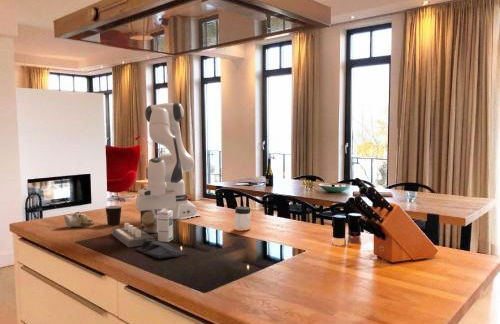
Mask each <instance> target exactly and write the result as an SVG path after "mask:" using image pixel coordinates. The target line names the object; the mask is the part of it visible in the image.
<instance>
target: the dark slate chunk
mask: <svg viewBox="0 0 500 324" xmlns="http://www.w3.org/2000/svg"><path fill="white" fill-rule="evenodd" d="M135 250H136V251H137V252H140V253H141V254H144V255H148V256H150V257H152V258H155V259H167V258H175V257H176V258H179V257H183V256H186V254H185V253H184V252H181V251H179V250H178V249H177V248H175V247H174V246H172V245H170V244H168V242H162V241H158V240H155V239H154V240H150V239H144V242H143V244H142V245H141V246H138V247H136V248H135Z"/></svg>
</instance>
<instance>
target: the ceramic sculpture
mask: <svg viewBox="0 0 500 324" xmlns="http://www.w3.org/2000/svg"><path fill="white" fill-rule="evenodd" d="M63 217H64V218H63V219H64V223H65V224H66V227H67V228H68V229H71V228H72V227H76V228H83V227H85V228H86V227H90V226H93V225H95V223H93V219H88V216H87V215H86V214H85V213H80V211H76V212H75V213H73V214H72V215H68V214H64V215H63Z"/></svg>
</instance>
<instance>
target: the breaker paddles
mask: <svg viewBox="0 0 500 324" xmlns="http://www.w3.org/2000/svg"><path fill="white" fill-rule="evenodd" d="M123 224H124V227H123V228H124V229H125V230H128V232H131V234H133V235H135V236H136V237H137V238H138V237H141V230H137V228H136V227H137V226H136V227H134V225H132V224H130V223H129V222H125V223H123Z"/></svg>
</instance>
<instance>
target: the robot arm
mask: <svg viewBox="0 0 500 324" xmlns="http://www.w3.org/2000/svg"><path fill="white" fill-rule="evenodd" d="M144 115H145V120H146V121H147V122H148V125H149V126H148V129H149V130H148V133H149V137H150V139H151V140H152V141H153V142H155V143H156V144H158V145H161V146H164V147H165V148H166V149H167V150H168V151H169V153H167V152H166V153H163V154H159V156H158V157H153V158H151V159H148V162H147V163H148V164H147V167H146V169H145V172H146V173H145V177H146V179H147V180H148V181H147V187H144V188H142V189H139V190H137V197H136V201H135V209H136V210H137V211H139V212H141V211H144V210H151V212H152V214H153V218H158V214H155V213H154V212H155V209H158V211H162V210H173V220H181V221H182V220H188V219H187V218H189V219H192V218H191V217H194V218H196V217H195V216H199V215H200V216H201V214H200V213H199V212H198V210H197V207H196V205H195V204H193V203H192V202H191V201H190V200H188V199H190V198H191V195H190V194H186V193H185V192H186V191H185V190H186V189H185V180H184V179H183V177H184V173H187V172H191V171H193V169H194V168H195V159H194V157H193V156H192V155H190V153H188V151H187V150H186V148H185V145H184V142H183V138H182V133H181V131H182V130H181V127H180V121H182V120H183V118H184V115H185V110H184V107H183V105H182V104H181V103H180V102H163V103H159V104H151V105H148V106H146V107H145V112H144ZM198 214H199V215H198Z"/></svg>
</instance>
